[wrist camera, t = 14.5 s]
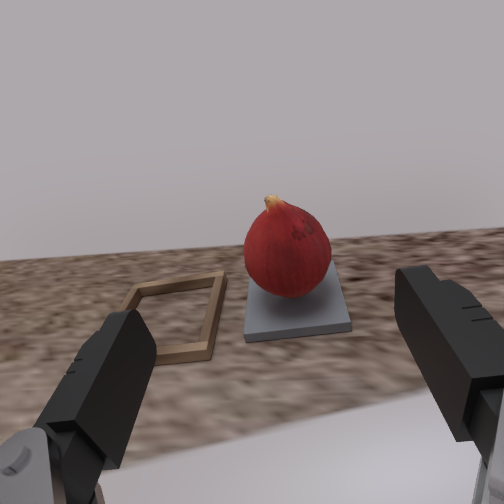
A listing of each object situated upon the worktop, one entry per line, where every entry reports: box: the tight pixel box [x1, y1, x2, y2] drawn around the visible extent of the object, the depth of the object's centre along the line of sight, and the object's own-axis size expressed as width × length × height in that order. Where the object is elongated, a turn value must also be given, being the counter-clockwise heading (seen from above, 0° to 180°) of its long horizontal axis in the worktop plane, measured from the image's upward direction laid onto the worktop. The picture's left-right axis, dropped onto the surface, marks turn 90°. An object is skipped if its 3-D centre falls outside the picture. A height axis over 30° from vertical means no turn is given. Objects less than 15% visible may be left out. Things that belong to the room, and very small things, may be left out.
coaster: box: [244, 261, 352, 343], centre depth 24 cm, size 7×7×1 cm
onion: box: [244, 195, 331, 298], centre depth 21 cm, size 6×6×8 cm
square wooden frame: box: [117, 271, 227, 366], centre depth 25 cm, size 9×9×1 cm
